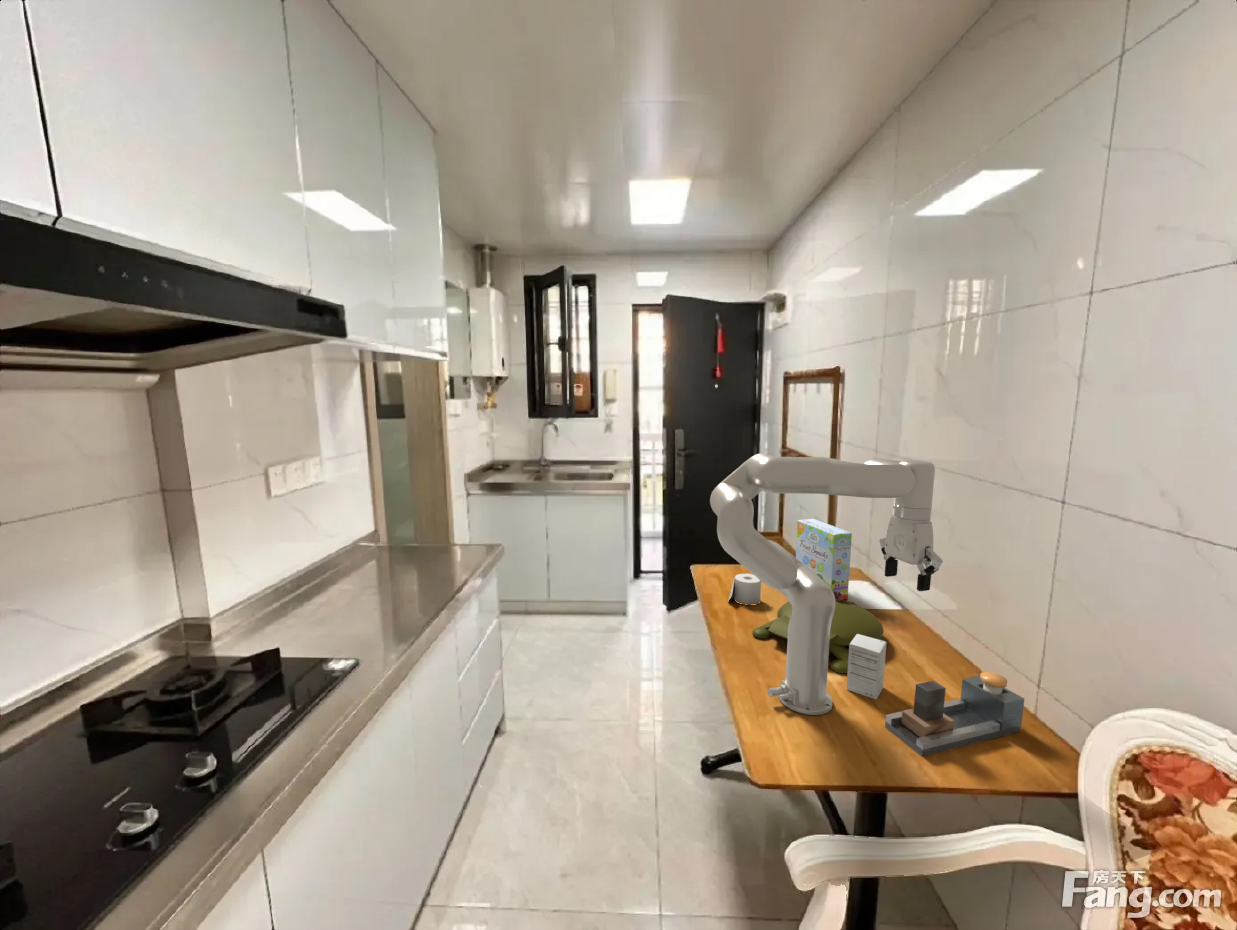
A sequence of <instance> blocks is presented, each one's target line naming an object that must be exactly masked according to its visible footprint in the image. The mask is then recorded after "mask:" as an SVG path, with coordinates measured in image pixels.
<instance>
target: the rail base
mask: <svg viewBox="0 0 1237 930" xmlns="http://www.w3.org/2000/svg"><path fill="white" fill-rule="evenodd" d="M961 681H962V682H961V690H960V691H961V692H960V698H957V699H952V700H947V701H944V710H943V713H944V714H945V715H947V716H948V717H950V718H951V719H953V720H954V727H953V730H950V731H946V732H942V733H937V734H933V735H929V736H925V737H921V738H920V737H919V736H918V735H916V734H915V733H914V732H913V731H911V730H910V729H909V728H907V727H906V726H905V725H903V724H902V723H901V722H902V711H903V710H901V711H897V712H893V713H888V714H885V721H884V728H885V729H887V730H888V731H889V732H890V733H892V734H893V735H894V736H896V737H897V738H898V739H899V740H900V741H902V742H903V743H904V744H905V745H906V746H908V747H909V748H911V749H912V750H913V751H914V752H916V753H917V754H918V755H919V756H921V757H925V756H929V755H932V754H936V753H937V754H938V753H941V752H945V751H949V750H952V749H957V748H961V747H965V746H968V745H973V744H976V743H980V742H985V741H989V740H993V739H995V738H1001V737H1004V736H1008V735H1013V734H1017V733H1020V732H1021V730H1022V724H1023V723H1022V720H1023V713H1024V705H1025V698H1024V697H1023V696H1020V695H1019V694H1016V693H1015V692H1013V691H1012V690H1009V689H1008V688H1006V687H1004V688H1002V694H1000V695H993V694H991V693H989V692H988V691H986V690H984V689H983V684H984V682H982V681H981V680H980V675H976V676H971V677H966V678H962V680H961Z"/></svg>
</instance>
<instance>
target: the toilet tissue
mask: <svg viewBox="0 0 1237 930" xmlns="http://www.w3.org/2000/svg"><path fill="white" fill-rule="evenodd" d="M761 590H762V582H761V581H760V580H759V579H758V578H757V577H756V576H755V575H754V574H752V573H738V574H736V575H735V576H734V578H733V582H732V585H731V590H730V594H729V598H728V600H727V602H728V603H729V602H730V601H731V600H732V599H731V598H733V597H734V598H733V600H736V601H737V602H739V603H742V604H747V605H751V604H757V603H759V602H760V603H761V594H762V593H761ZM730 599H731V600H730ZM729 600H730V601H729Z"/></svg>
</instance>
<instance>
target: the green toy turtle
mask: <svg viewBox="0 0 1237 930" xmlns="http://www.w3.org/2000/svg"><path fill="white" fill-rule="evenodd" d="M791 614H792V605H791V603H790V602H789V601H787V602H785V603H784V604H782V606H781V607H780V608H778V611H777V613H776V615H777V618H775V619H773V620H771V621H769V622H766V623H764V624H762V625H760V626H757V627H756V628H754V629H753V630H752V631H751V632H752V633H751V634H752V636H753V637H755V638H756V637H757V639H761V640H763V639H764V640H765V639H767V638H770V637H771V636H773V635H774V636H777V637H780V638H782V639H785V640H787V641H788V626H789V621H790V617H791ZM856 634H860V635H863V636H867V637H871V638H875V639H878V640H882V641H885V642H886V647H887V646H889V644H890V641H889V639H888V638H887V637H885V636H883V635H884V627H883V625H882V623H881V622H880V620H879V619H878V617H876V616H875V615H874V614H873V613H871V612H870V611H868V610H867V609H865V608H863V607H861V606H858V605H857V604H853V603H850V602H845V601H844V600H842V601H841V600H838V599H835V611H834V615H833V618H832V623H831V629H830V640H829V656H830V655H831V654H833V655H834V656H835V657H836V658H835V659H834V660H832V661H831V662H830V663H829V666H830V669H831V670H833V671H834V672H835V673H838V674H843V675H844V674H847V673H848V659H849V649H848V648H847V647H846V646H849V644H850V643H851V641H852V640H853V639H854V637H855V636H856Z"/></svg>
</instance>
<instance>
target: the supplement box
mask: <svg viewBox="0 0 1237 930" xmlns="http://www.w3.org/2000/svg"><path fill="white" fill-rule="evenodd" d="M848 647H849V648H848V651H849V659H848V672H847V673H846V674H847V677H846V690H847V691H849V692H853V693H856V694H859V695H861V696H864V697H867V698H870V699H874V700H877V699H878V698H879V697H880V694H881V692H882V690H883V688H884V684H885V683H884V681H885V668H886V656H887V655H886V654H887V646H886V642H885V641H882V640H878V639H875V638H871V637H867V636H863V635H860V634H856V636H855V637H854V639H853V640H852V641H851V643H850V644H849V645H848Z"/></svg>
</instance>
